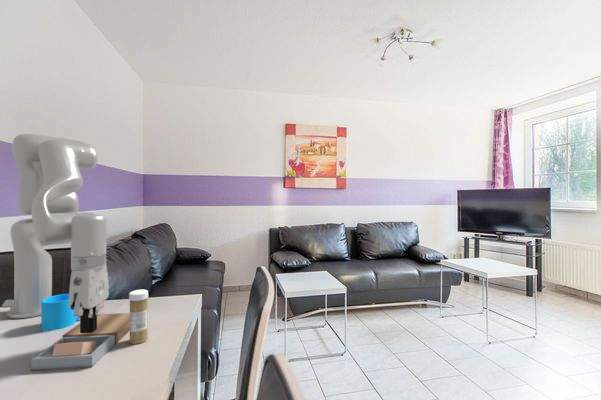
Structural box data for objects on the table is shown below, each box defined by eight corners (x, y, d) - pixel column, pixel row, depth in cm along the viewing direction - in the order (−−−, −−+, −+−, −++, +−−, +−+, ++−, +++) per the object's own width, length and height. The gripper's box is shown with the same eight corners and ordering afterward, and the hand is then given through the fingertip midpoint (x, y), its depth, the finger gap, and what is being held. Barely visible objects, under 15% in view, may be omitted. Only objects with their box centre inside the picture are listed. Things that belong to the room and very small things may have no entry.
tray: (31, 370, 66) (31, 359, 66) (62, 347, 76) (62, 337, 76) (92, 367, 68) (92, 355, 68) (114, 344, 78) (115, 334, 78)
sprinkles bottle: (148, 335, 83) (148, 288, 83) (147, 342, 79) (148, 292, 79) (129, 338, 81) (129, 290, 81) (128, 346, 77) (128, 295, 77)
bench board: (62, 346, 77) (62, 335, 77) (93, 324, 90) (93, 314, 90) (116, 344, 78) (116, 332, 78) (138, 322, 92) (138, 312, 92)
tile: (69, 342, 73) (67, 353, 72) (54, 344, 68) (51, 356, 67) (96, 341, 74) (93, 352, 73) (83, 342, 69) (80, 354, 68)
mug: (41, 333, 84) (41, 304, 84) (41, 324, 90) (41, 297, 90) (92, 321, 92) (92, 295, 92) (88, 314, 98) (89, 289, 98)
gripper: (88, 267, 70) (87, 344, 70) (118, 255, 85) (117, 319, 85) (53, 268, 69) (52, 346, 69) (90, 256, 84) (89, 320, 84)
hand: (88, 331), depth 77 cm, fingers closed
